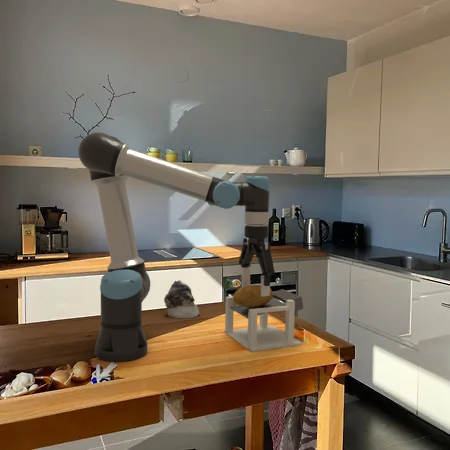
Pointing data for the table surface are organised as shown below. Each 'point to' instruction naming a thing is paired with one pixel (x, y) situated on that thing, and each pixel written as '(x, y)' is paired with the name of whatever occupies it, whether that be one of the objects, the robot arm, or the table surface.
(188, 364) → the table surface
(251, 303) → the potato
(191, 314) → the stone
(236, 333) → the frame
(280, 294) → the flap
